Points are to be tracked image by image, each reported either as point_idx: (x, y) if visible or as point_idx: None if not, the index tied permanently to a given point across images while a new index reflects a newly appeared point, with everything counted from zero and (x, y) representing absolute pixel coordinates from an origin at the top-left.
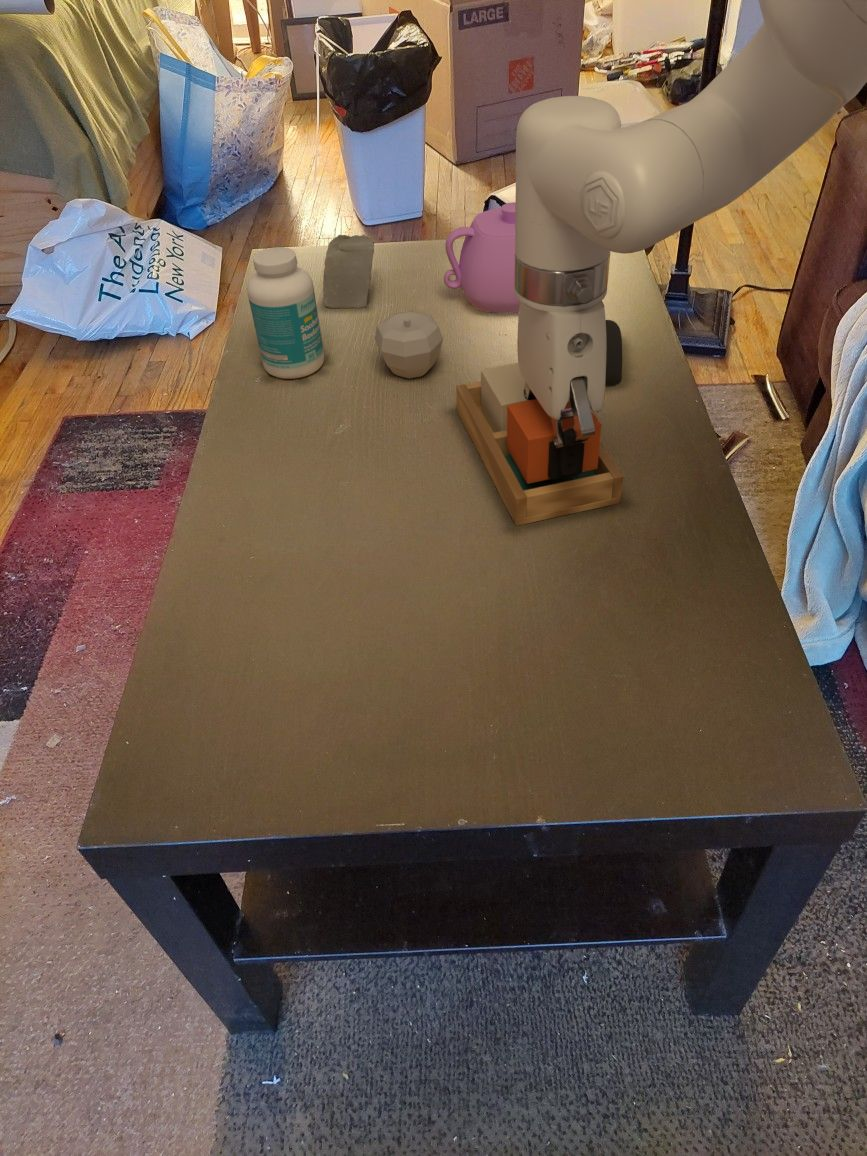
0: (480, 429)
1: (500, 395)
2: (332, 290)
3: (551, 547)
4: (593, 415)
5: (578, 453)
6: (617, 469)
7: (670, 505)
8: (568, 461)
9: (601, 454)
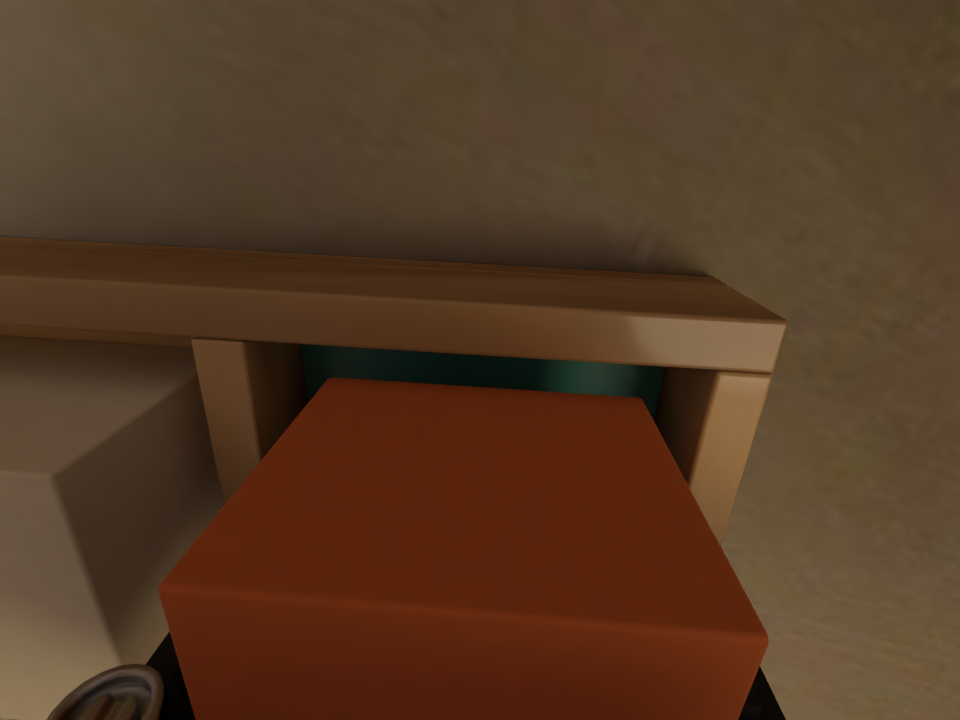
0: None
1: (52, 709)
2: None
3: (775, 562)
4: (601, 639)
5: (764, 677)
6: (725, 329)
7: (854, 61)
8: None
9: (563, 345)
